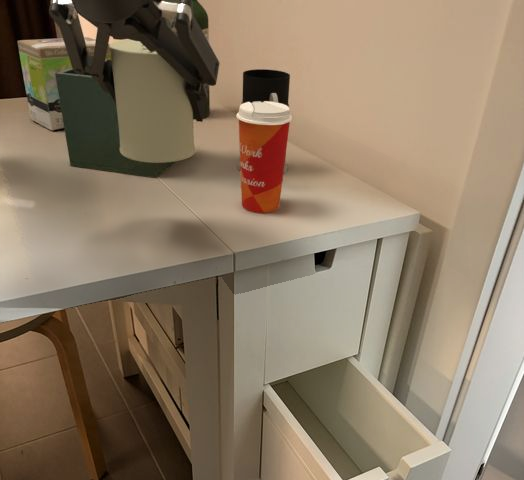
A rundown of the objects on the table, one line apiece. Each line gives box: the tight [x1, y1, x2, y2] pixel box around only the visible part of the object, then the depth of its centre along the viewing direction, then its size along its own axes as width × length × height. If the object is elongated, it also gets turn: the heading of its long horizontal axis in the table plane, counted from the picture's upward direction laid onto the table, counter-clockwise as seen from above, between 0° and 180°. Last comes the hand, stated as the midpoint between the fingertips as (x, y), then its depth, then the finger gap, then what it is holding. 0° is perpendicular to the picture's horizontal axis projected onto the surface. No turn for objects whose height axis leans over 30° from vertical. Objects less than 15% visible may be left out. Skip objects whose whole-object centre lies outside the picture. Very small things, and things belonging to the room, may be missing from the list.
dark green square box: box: [55, 60, 177, 179], centre depth 93 cm, size 16×14×14 cm
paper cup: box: [235, 101, 293, 214], centre depth 79 cm, size 8×8×14 cm
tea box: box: [17, 36, 111, 132], centre depth 111 cm, size 15×10×15 cm, turn 132°
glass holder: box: [237, 68, 291, 175], centre depth 90 cm, size 9×14×15 cm, turn 9°
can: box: [109, 39, 196, 163], centre depth 65 cm, size 9×9×12 cm
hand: (163, 107), depth 68 cm, fingers closed on can, 9 cm apart
